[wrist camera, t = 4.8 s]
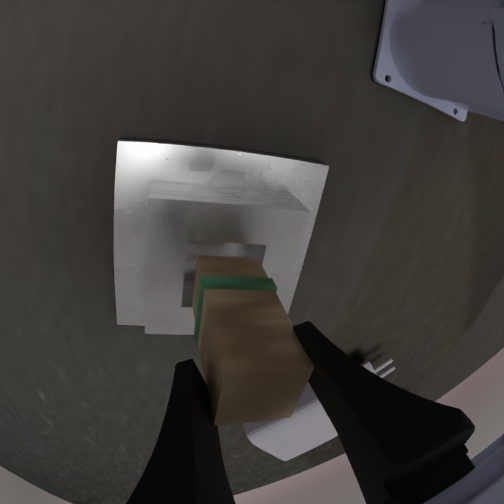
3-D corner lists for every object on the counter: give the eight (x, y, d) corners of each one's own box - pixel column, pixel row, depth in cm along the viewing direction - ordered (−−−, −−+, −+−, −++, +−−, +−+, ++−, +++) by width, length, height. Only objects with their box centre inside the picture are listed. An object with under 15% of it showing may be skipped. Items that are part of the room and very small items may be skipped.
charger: (388, 366, 33) (276, 430, 34) (372, 323, 28) (236, 402, 29) (409, 396, 29) (288, 463, 30) (398, 357, 24) (247, 442, 25)
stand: (322, 162, 19) (357, 182, 16) (280, 317, 25) (299, 356, 21) (120, 138, 16) (106, 153, 12) (118, 315, 21) (113, 359, 18)
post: (260, 256, 16) (318, 364, 10) (248, 307, 18) (292, 418, 11) (195, 253, 15) (221, 371, 9) (190, 307, 17) (210, 427, 11)
